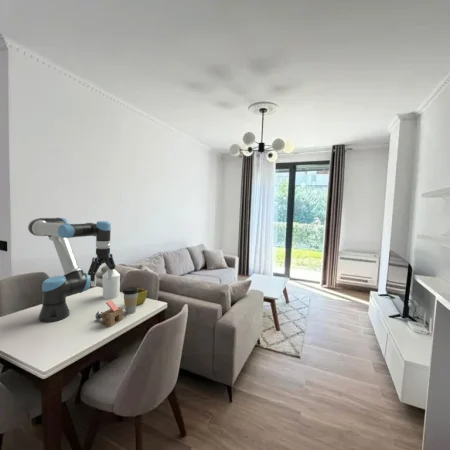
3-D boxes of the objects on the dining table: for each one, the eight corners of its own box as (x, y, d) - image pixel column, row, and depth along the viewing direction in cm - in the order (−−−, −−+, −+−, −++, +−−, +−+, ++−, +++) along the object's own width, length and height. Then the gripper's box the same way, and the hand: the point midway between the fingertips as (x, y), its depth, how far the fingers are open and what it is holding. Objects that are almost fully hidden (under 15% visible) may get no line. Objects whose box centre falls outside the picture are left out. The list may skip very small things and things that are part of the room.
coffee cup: (133, 315, 159) (133, 292, 158) (119, 313, 160) (119, 290, 160) (141, 309, 168) (141, 287, 167) (128, 308, 170) (128, 286, 169)
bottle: (100, 299, 184) (100, 265, 182) (104, 293, 196) (104, 261, 194) (118, 298, 186) (118, 264, 185) (121, 293, 198) (121, 261, 196)
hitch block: (102, 325, 145) (102, 312, 145) (114, 317, 155) (114, 306, 154) (110, 326, 143) (110, 314, 143) (122, 319, 153) (122, 308, 152)
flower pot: (147, 303, 180) (147, 290, 179) (137, 306, 173) (137, 293, 172) (139, 300, 185) (139, 288, 184) (129, 303, 177) (129, 291, 177)
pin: (95, 320, 150) (95, 313, 149) (101, 317, 154) (101, 310, 154) (111, 323, 147) (111, 315, 146) (116, 320, 151) (116, 312, 150)
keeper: (105, 303, 147) (106, 302, 147) (110, 300, 151) (111, 299, 151) (113, 312, 146) (114, 311, 146) (118, 309, 150) (119, 308, 150)
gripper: (92, 251, 137) (91, 290, 139) (122, 245, 162) (121, 278, 163) (80, 250, 139) (80, 288, 141) (112, 244, 163) (111, 276, 165)
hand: (102, 282), depth 152 cm, fingers open, 13 cm apart
